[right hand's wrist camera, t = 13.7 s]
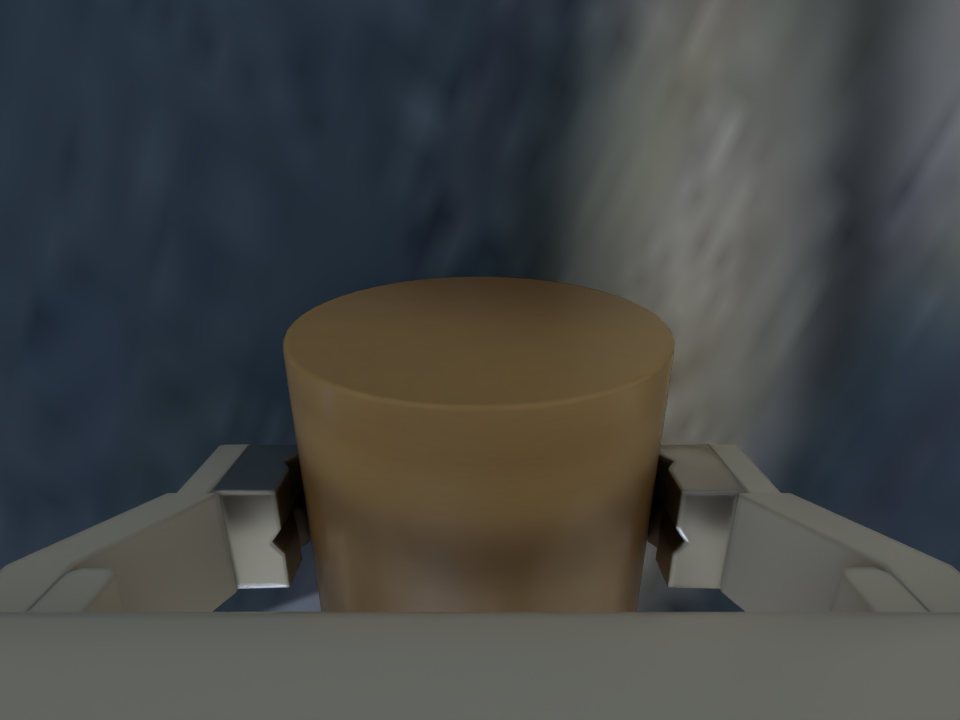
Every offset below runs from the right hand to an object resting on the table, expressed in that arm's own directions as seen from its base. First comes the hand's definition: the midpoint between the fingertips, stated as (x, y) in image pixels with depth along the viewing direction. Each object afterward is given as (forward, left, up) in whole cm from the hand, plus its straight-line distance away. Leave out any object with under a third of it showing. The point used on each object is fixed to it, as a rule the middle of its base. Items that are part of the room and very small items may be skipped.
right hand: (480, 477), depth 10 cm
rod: (+9, -3, -3) cm, 10 cm away
